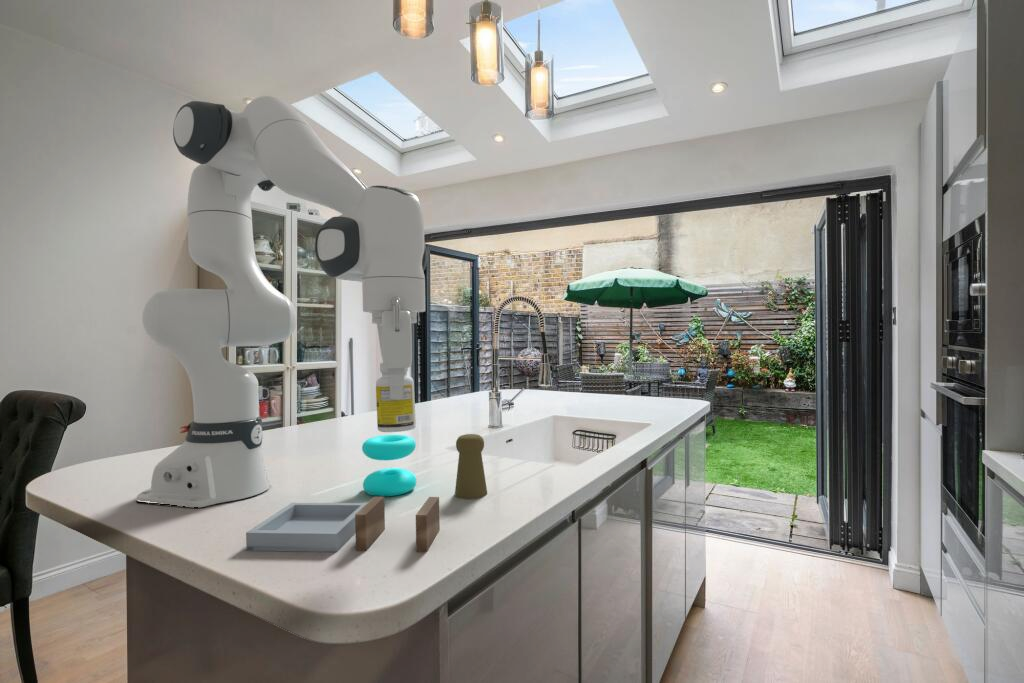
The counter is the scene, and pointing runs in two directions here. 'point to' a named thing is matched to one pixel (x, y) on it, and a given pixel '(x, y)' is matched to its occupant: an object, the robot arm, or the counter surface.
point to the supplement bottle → (395, 404)
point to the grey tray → (305, 528)
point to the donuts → (392, 478)
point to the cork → (470, 467)
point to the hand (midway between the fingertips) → (395, 395)
